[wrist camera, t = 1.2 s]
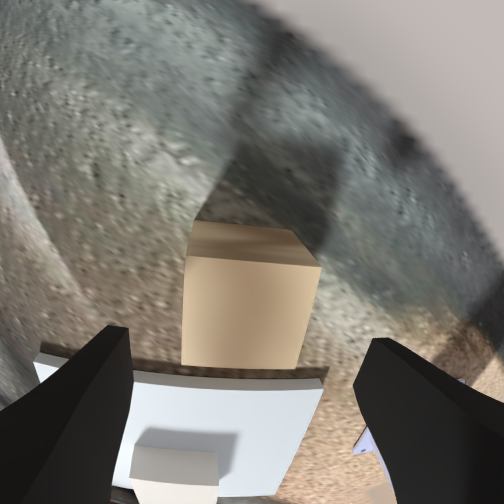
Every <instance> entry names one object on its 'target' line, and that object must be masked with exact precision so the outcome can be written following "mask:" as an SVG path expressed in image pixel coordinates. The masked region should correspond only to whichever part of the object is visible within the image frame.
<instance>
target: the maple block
mask: <svg viewBox="0 0 504 504" xmlns="http://www.w3.org/2000/svg"><path fill="white" fill-rule="evenodd" d="M321 270H322V267H321V265H320V264H319V263H318V262H317V261H316V259H315V258H314V257H313V256H312V254H311V253H310V252H309V251H308V249H307V248H306V247H305V246H304V245H303V243H302V242H301V241H300V240H299V238H298V237H297V236H296V235H295V234H294V232H293V231H292V230H287V229H278V228H269V227H259V226H250V225H240V224H230V223H220V222H210V221H200V220H194V223H193V227H192V231H191V235H190V240H189V244H188V248H187V253H186V261H185V278H184V297H183V322H182V365H190V366H203V367H219V368H242V369H295V367H296V364H297V361H298V357H299V354H300V350H301V347H302V343H303V340H304V336H305V332H306V329H307V325H308V321H309V318H310V314H311V310H312V306H313V302H314V298H315V294H316V290H317V286H318V282H319V278H320V274H321Z"/></svg>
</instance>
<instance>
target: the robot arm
mask: <svg viewBox="0 0 504 504" xmlns="http://www.w3.org/2000/svg"><path fill="white" fill-rule="evenodd" d="M133 386H134V376H133V368H132V359H131V350H130V340H129V328H126V327H118V326H111V325H107V326H106V327H105V328H104V329H103V330H102V331H100V332H99V333H98V334H97V335H96V336H95V337H94V338H93V339H91V340H90V341H89V342H88V343H87V344H86V345H85V346H84V347H83V348H82V349H80V350H79V351H78V352H77V353H76V354H75V355H74V356H73V357H71V358H70V359H69V360H68V361H67V362H66V363H65V364H63V365H62V366H61V367H60V368H59V369H58V370H57V371H55V372H54V373H53V374H52V375H50V376H49V377H48V378H47V379H45V380H44V381H43V382H42V383H40V384H39V385H38V386H37V387H35V388H34V389H33V390H31V391H30V392H29V393H27V394H26V395H24V396H23V397H21V398H20V399H18V400H17V401H15V402H14V403H12V404H11V405H9V406H8V407H6V408H4V409H3V410H1V411H0V504H110V499H111V487H112V481H113V475H114V470H115V466H116V462H117V458H118V454H119V450H120V446H121V442H122V438H123V434H124V431H125V427H126V423H127V419H128V415H129V412H130V406H131V399H132V392H133ZM353 388H354V392H355V396H356V399H357V402H358V405H359V408H360V411H361V414H362V416H363V418H364V420H365V422H366V425H367V428H366V429H365V431H364V433H363V434H362V436H361V437H360V439H359V441H358V442H357V444H356V445H355V447H354V448H353V450H352V452H353V454H361V453H366V452H370V451H374V452H375V454H376V456H377V458H378V460H379V462H380V464H381V466H382V468H383V471H384V473H385V475H386V477H387V479H388V481H389V483H390V485H391V488H392V490H393V492H394V494H395V496H396V500H397V504H504V403H503V402H500V401H498V400H495V399H493V398H491V397H489V396H487V395H485V394H483V393H480V392H478V391H476V390H475V389H473V388H471V387H469V386H467V385H465V380H464V379H463V378H461V379H455V378H453V377H452V376H450V375H449V374H447V373H445V372H444V371H442V370H441V369H439V368H437V367H436V366H434V365H433V364H431V363H430V362H428V361H427V360H425V359H423V358H422V357H420V356H419V355H417V354H416V353H414V352H413V351H411V350H409V349H408V348H406V347H405V346H403V345H401V344H400V343H398V342H396V341H394V340H392V339H390V338H388V337H387V338H373V339H372V341H371V344H370V346H369V349H368V351H367V354H366V356H365V358H364V361H363V363H362V365H361V368H360V370H359V372H358V375H357V377H356V379H355V381H354V383H353Z"/></svg>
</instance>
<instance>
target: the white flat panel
mask: <svg viewBox="0 0 504 504" xmlns="http://www.w3.org/2000/svg"><path fill="white" fill-rule="evenodd" d="M68 360H69V359H67V358H62V357H58V356H53V355H49V354H45V353H41V352H39V353H38V355H37V357H36V358H35V360H34V361H33V362H34V365H35V368H36V371H37V374H38V377H39V379H40V382H41V383H42V382H43V381H44V380H45V379H47V378H48V377H49V376H50V375H52V374H53V373H54V372H55V371H57V370H58V369H59V368H60V367H61V366H62V365H63V364H65V363H66V362H67V361H68ZM133 376H134V386H133V392H132V399H131V406H130V412H129V415H128V419H127V423H126V427H125V431H124V434H123V438H122V442H121V446H120V450H119V454H118V458H117V462H116V466H115V470H114V475H113V481H112V485H113V486H118V487H123V488H129V489H133V487H132V484H131V482H130V479H129V475H130V468H131V461H132V455H133V449H134V445H139V446H146V447H153V448H162V449H172V450H183V451H198V452H217V463H218V478H219V490H218V496H217V497H240V496H263V495H274V494H275V493H276V491H277V489H278V487H279V485H280V483H281V481H282V479H283V478H284V476H285V474H286V472H287V470H288V468H289V466H290V464H291V462H292V460H293V458H294V456H295V454H296V451H297V449H298V447H299V445H300V443H301V441H302V439H303V437H304V434H305V432H306V430H307V428H308V425H309V423H310V421H311V419H312V416H313V414H314V412H315V409H316V407H317V405H318V402H319V400H320V397H321V395H322V392H323V390H324V388H323V386H322V383H321V381H320V378H314V379H229V378H209V377H194V376H182V375H171V374H161V373H153V372H144V371H137V370H133Z"/></svg>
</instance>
